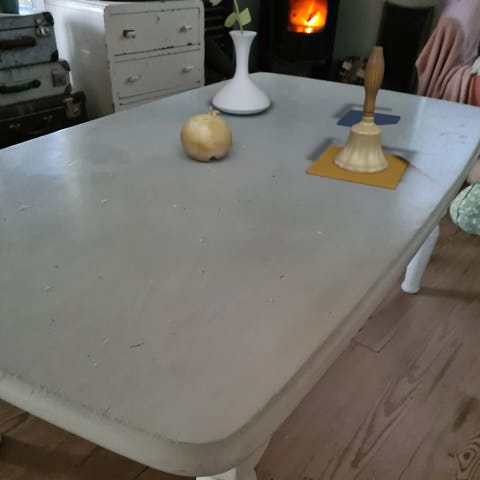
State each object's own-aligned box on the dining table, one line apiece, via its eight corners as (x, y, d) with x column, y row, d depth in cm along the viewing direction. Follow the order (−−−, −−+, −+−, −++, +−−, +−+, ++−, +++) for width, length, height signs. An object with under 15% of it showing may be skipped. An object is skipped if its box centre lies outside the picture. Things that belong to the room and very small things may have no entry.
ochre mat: (394, 189, 72) (395, 186, 72) (306, 173, 76) (306, 170, 76) (409, 160, 82) (410, 157, 82) (330, 148, 86) (331, 145, 86)
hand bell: (354, 176, 74) (373, 54, 65) (322, 158, 80) (336, 43, 71) (399, 169, 77) (425, 50, 68) (366, 151, 83) (385, 40, 74)
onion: (228, 167, 77) (229, 118, 73) (176, 164, 78) (174, 115, 74) (234, 150, 84) (235, 104, 80) (186, 147, 84) (184, 101, 80)
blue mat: (390, 132, 94) (390, 129, 94) (336, 124, 97) (337, 121, 97) (400, 118, 101) (400, 116, 101) (350, 111, 104) (350, 109, 104)
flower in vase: (238, 100, 109) (241, -44, 94) (281, 111, 103) (291, -41, 88) (194, 112, 101) (190, -44, 86) (238, 124, 95) (242, -41, 80)
